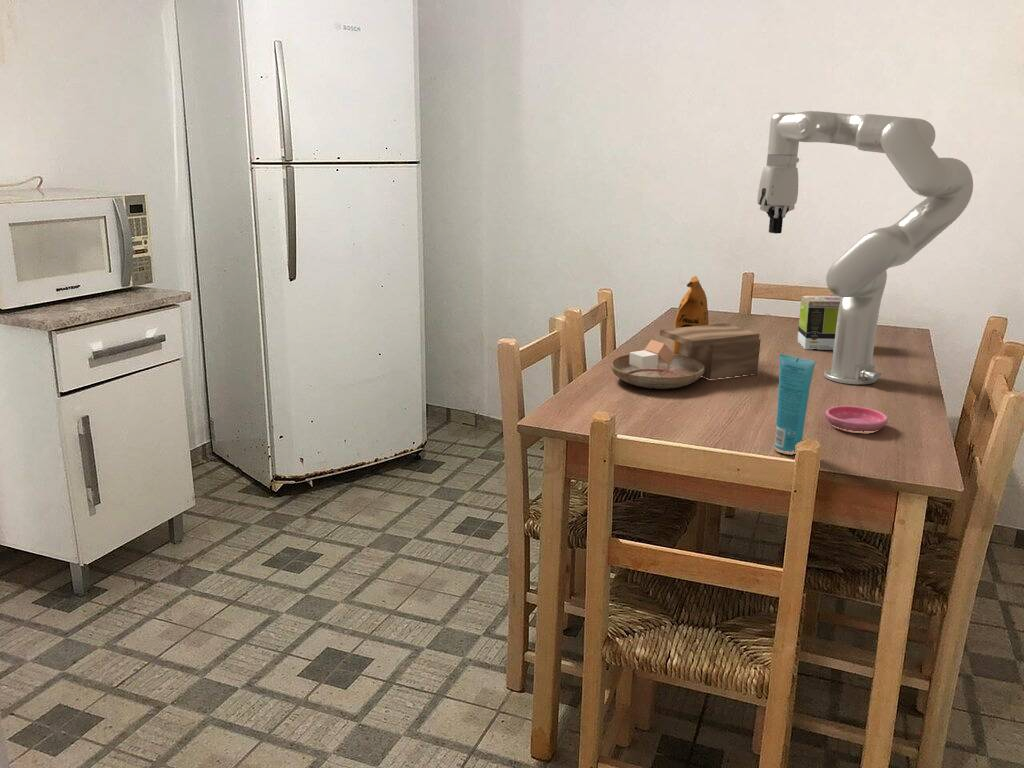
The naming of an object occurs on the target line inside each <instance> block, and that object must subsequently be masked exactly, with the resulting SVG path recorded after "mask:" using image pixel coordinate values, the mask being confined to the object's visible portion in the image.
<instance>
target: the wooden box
mask: <svg viewBox="0 0 1024 768" xmlns="http://www.w3.org/2000/svg"><path fill="white" fill-rule="evenodd" d="M760 335H761V334H760V333H758V332H754V331H752V330H749V329H745V328H742V327H738V326H735V325H731V324H729V323H725V322H724V323H722V322H721V323H713V324H712V323H711V324H709V325H702V326H691V327H681V328H674V327H672V328H661V329H659V336H661V337H663V338H667V339H670V340H672V341H673V342H674V341H677V342H680V347H679V355H683V356H687V357H690V358H693V359H696V360H698V361H699V362H701V363H702V364H703V365H704V367H705V370H704V373H703V375H702V376H703V377H705V378H708V379H718V378H726V377H735V376H743V375H751V374H757V375H758V370H759V361H760V352H761V351H760V350H761V349H760V348H761V339H760Z"/></svg>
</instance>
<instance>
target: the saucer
mask: <svg viewBox="0 0 1024 768" xmlns="http://www.w3.org/2000/svg"><path fill="white" fill-rule="evenodd" d="M824 415H825V418H826V419H827V421H828V422H829V424H830V425H831V424H832V425H834V426H836V427H839V428H842V429H846V430H852V431H863V432H864V431H876V430H879V431H880V430H881V429H882V428H884V427H885V426H886V425H887V424H888V420H889V417H888V416H887V415H886V414H885V413H884V412H882V411H879V410H877V409H874V408H869V407H865V406H864V407H863V406H859V405H838V406H837V405H836V406H832V407H829V408H828V409H826V410H825V413H824ZM841 418H842V419H841ZM832 425H831V426H832Z"/></svg>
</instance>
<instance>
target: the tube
mask: <svg viewBox="0 0 1024 768" xmlns="http://www.w3.org/2000/svg"><path fill="white" fill-rule="evenodd" d="M815 365H816V360H810V359H807V358H801V357H796V356H793V355H788V354H783V353H779V374H778V375H779V377H778V391H777V392H778V393H777V394H778V395H777V409H776V410H777V413H776V425H775V438H774V448H775V447H776V448H778V449H780V450H783V451H789V452H790V451H791V452H792V451H793V450H794V452H795V445H796V444H797V443H798V442H800V441H802V442H803V436H804V429H805V420H806V414H807V408H808V402H809V401H808V400H809V396H810V390H811V389H810V388H811V384H812V379H813V374H814V371H815V370H814V369H815Z"/></svg>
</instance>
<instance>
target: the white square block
mask: <svg viewBox="0 0 1024 768" xmlns="http://www.w3.org/2000/svg"><path fill="white" fill-rule="evenodd" d="M629 354H630V358H629V364H631V365H633V366H636V367H639V368H642V369H643V368H649V367H655V366H658V354H656V353H653V352H650V351H647V350H645V349H644V350H643V349H642V350H637V351H631V352H629Z"/></svg>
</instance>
